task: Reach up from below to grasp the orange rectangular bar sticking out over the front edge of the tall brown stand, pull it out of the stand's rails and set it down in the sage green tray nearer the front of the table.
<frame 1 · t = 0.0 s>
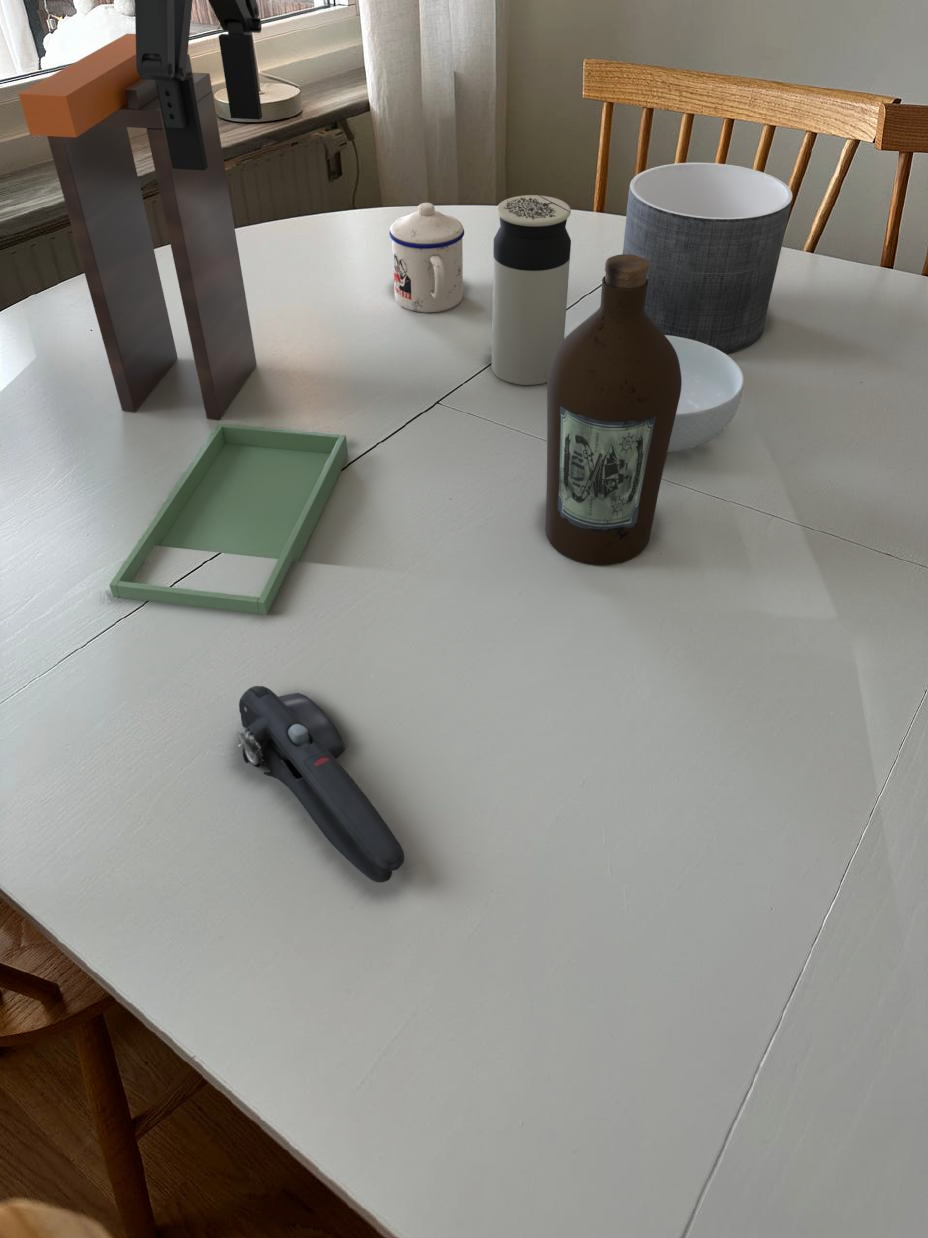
hand: (220, 141, 83), 28 cm above the table, tool pointing down, fingers open, 13 cm apart
cereal bowl: (647, 434, 101), on the table
orange rectangular bar: (108, 100, 85), point 30 cm above the table, touching tall brown stand
can opener: (325, 805, 67), on the table
tall brown stand: (191, 387, 108), on the table
tray: (243, 524, 90), on the table
planter: (688, 323, 119), on the table
olive oil: (596, 535, 88), on the table
travel mug: (526, 371, 111), on the table
teacup with lid: (431, 304, 123), on the table
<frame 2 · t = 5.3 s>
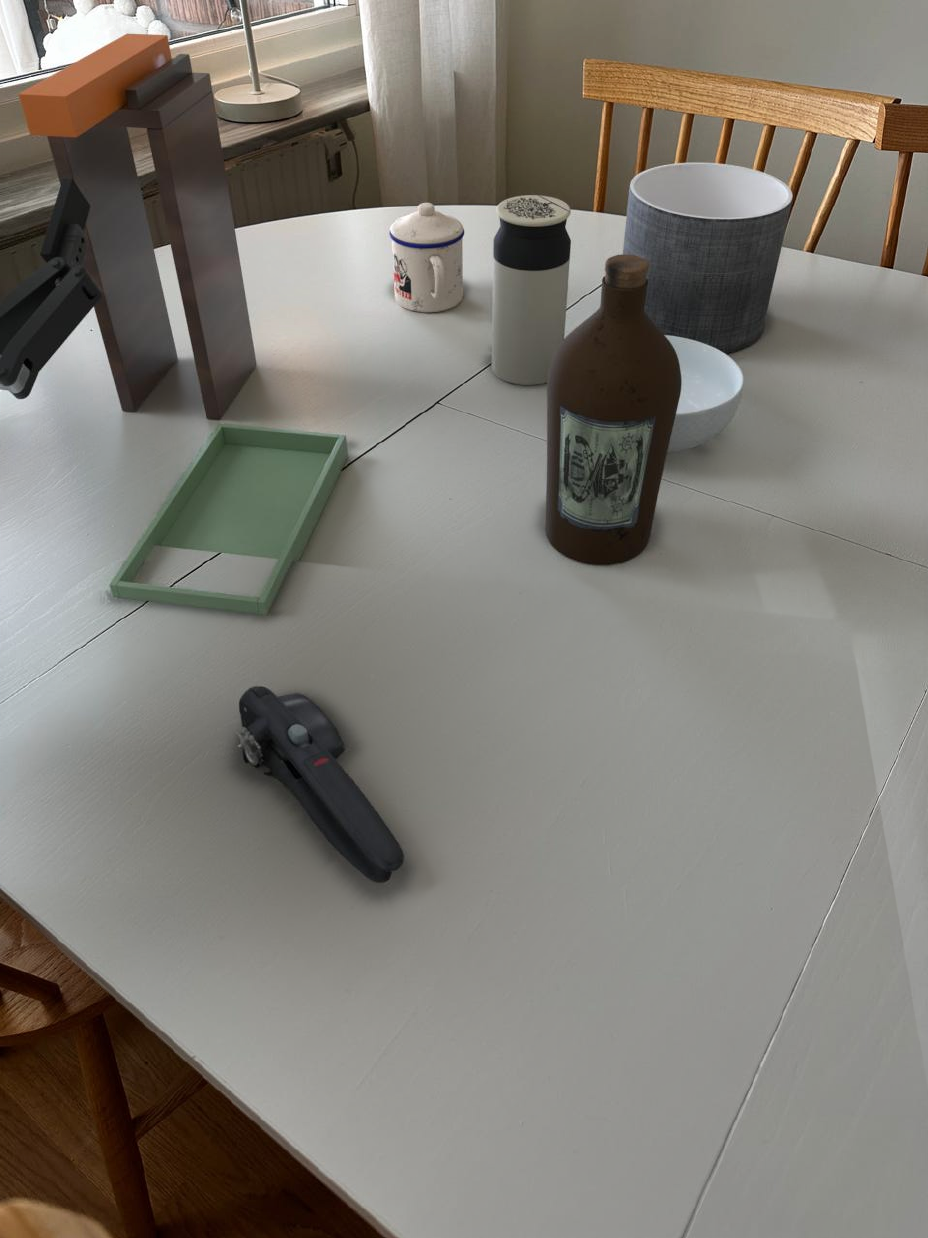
nothing on the table moved.
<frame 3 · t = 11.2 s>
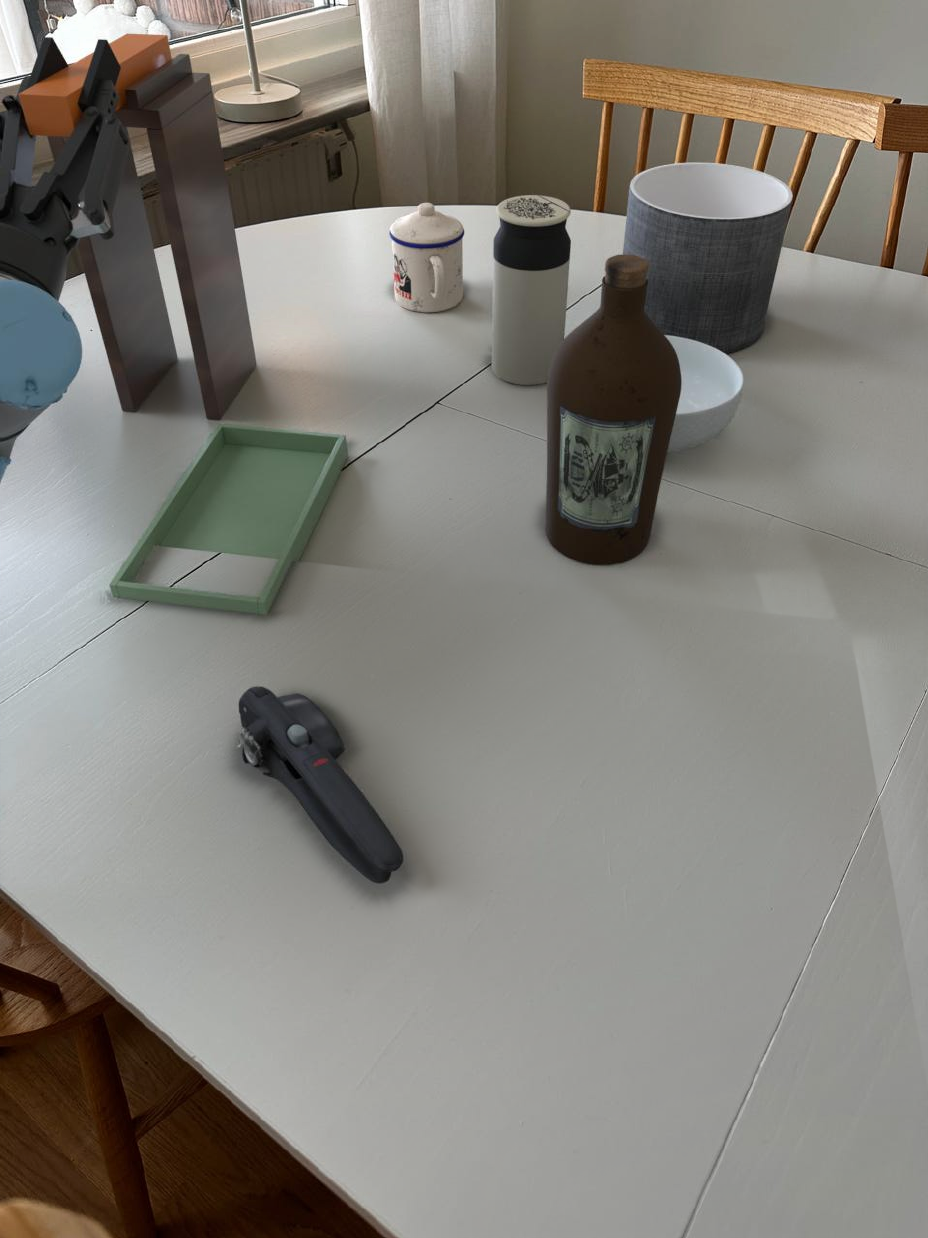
hand: (82, 52, 80), 34 cm above the table, tool pointing upward, fingers closed on orange rectangular bar, 4 cm apart
orange rectangular bar: (108, 100, 85), point 30 cm above the table, touching gripper, tall brown stand
everything else where it was.
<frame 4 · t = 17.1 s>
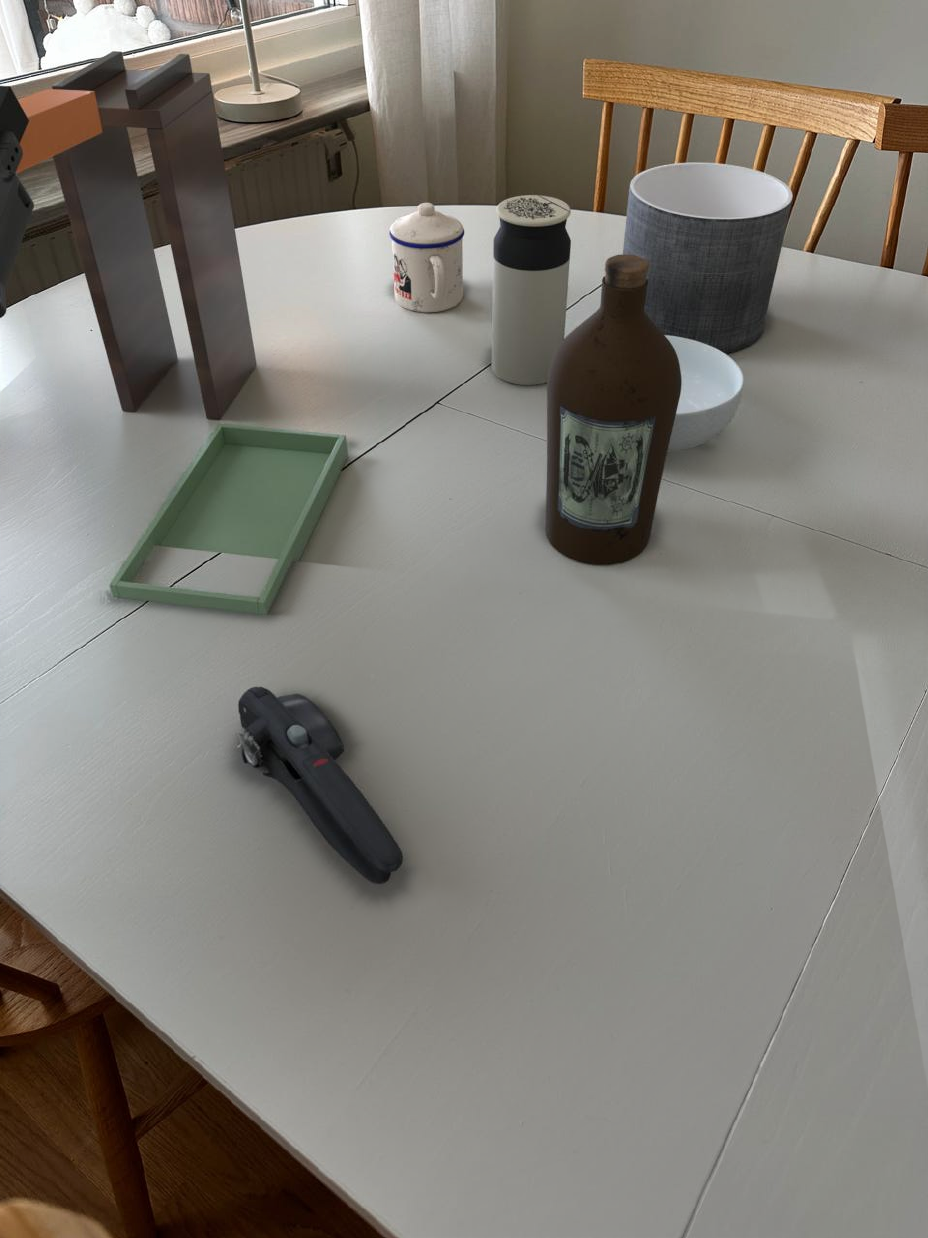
orange rectangular bar: (16, 160, 71), point 31 cm above the table, tilted 5°, touching gripper
everything else where it was.
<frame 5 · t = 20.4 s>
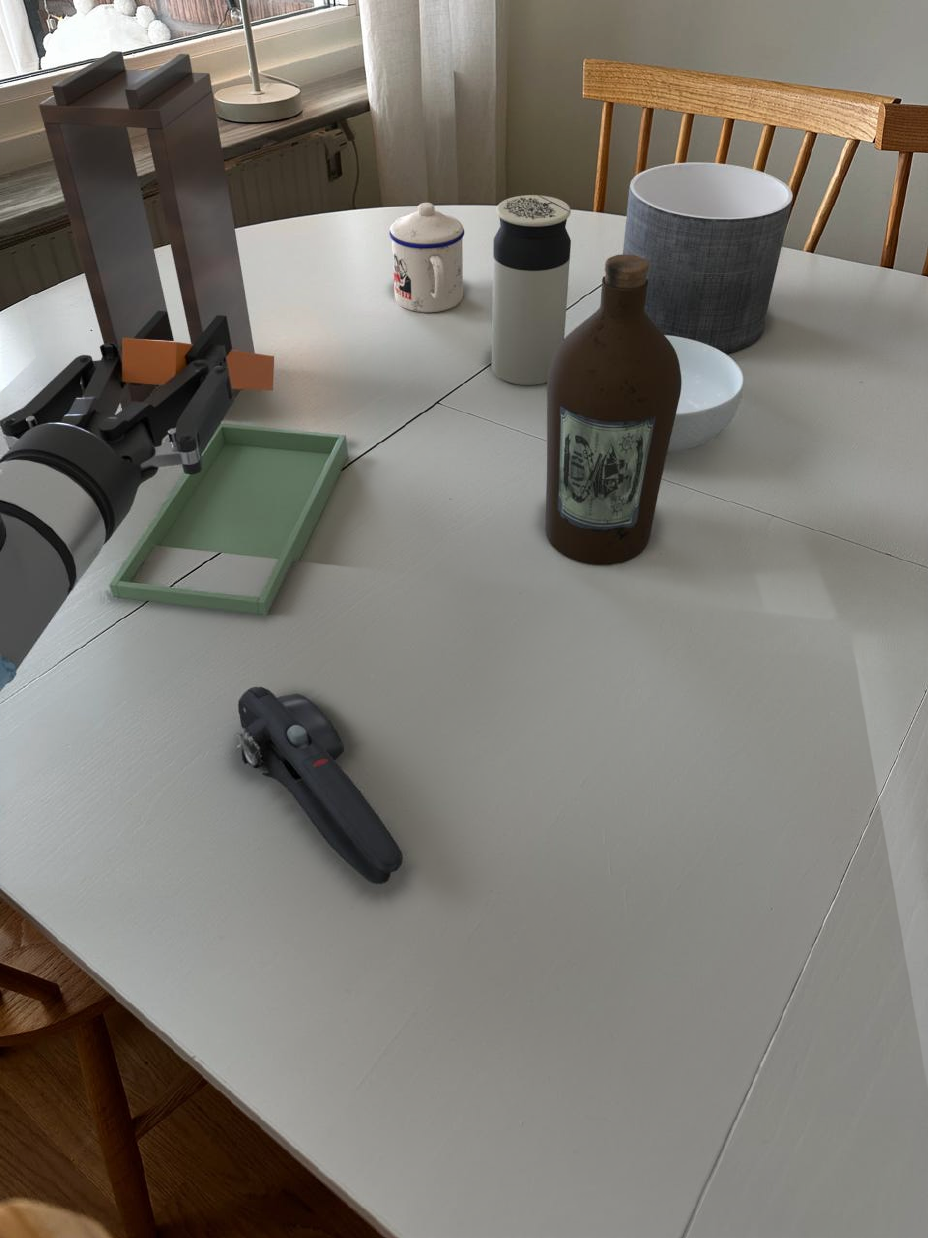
hand: (195, 330, 75), 20 cm above the table, tool horizontal, fingers closed on orange rectangular bar, 4 cm apart
orange rectangular bar: (206, 386, 78), point 15 cm above the table, tilted 30°, touching gripper
everything else where it was.
when the fingers open (9 cm above the table, at t = 23.4 s): orange rectangular bar drops 3 cm, resting on tray.
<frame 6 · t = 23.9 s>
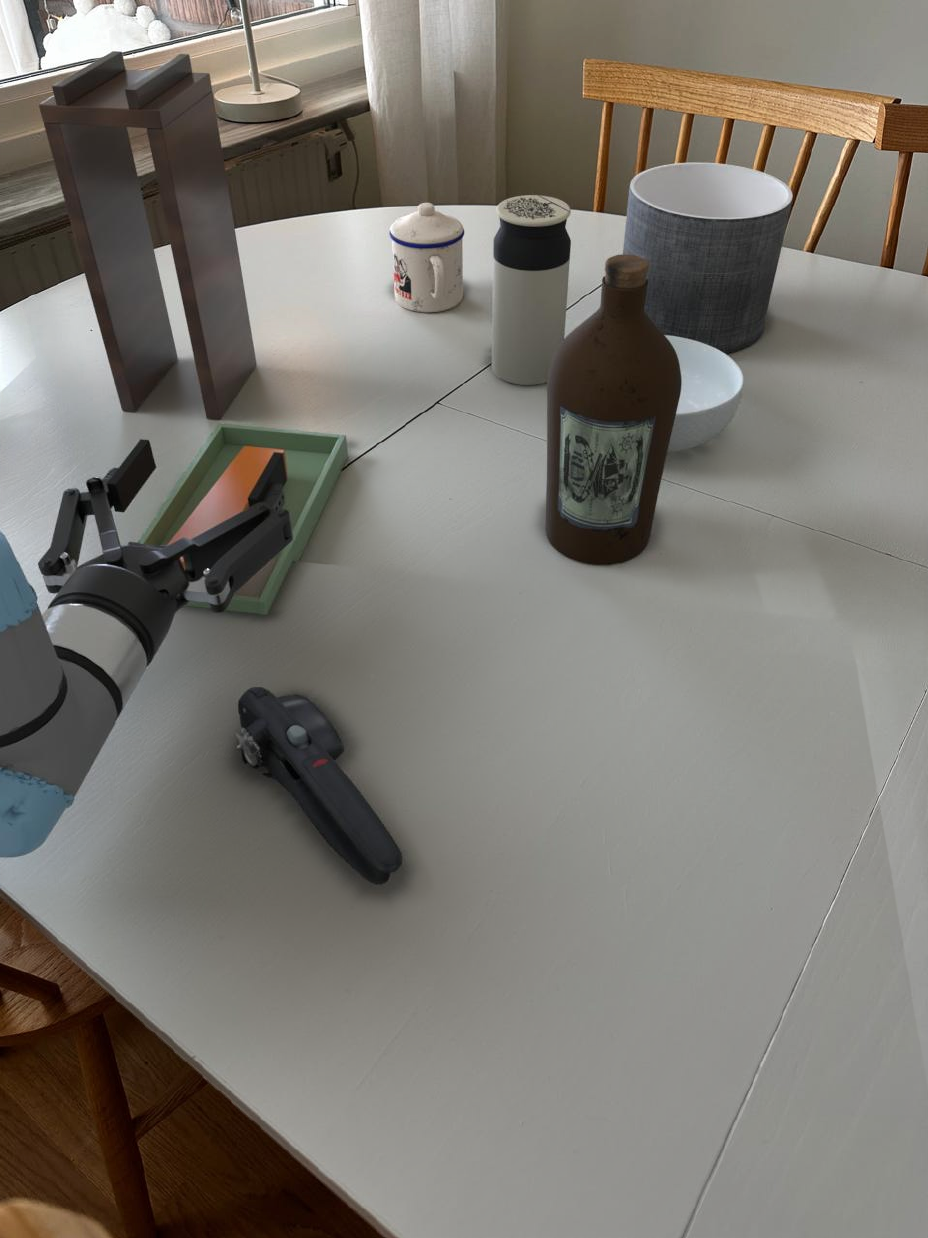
hand: (214, 459, 81), 9 cm above the table, tool horizontal, fingers open, 11 cm apart
orange rectangular bar: (230, 528, 87), point 2 cm above the table, tilted 6°, touching tray
everything else where it was.
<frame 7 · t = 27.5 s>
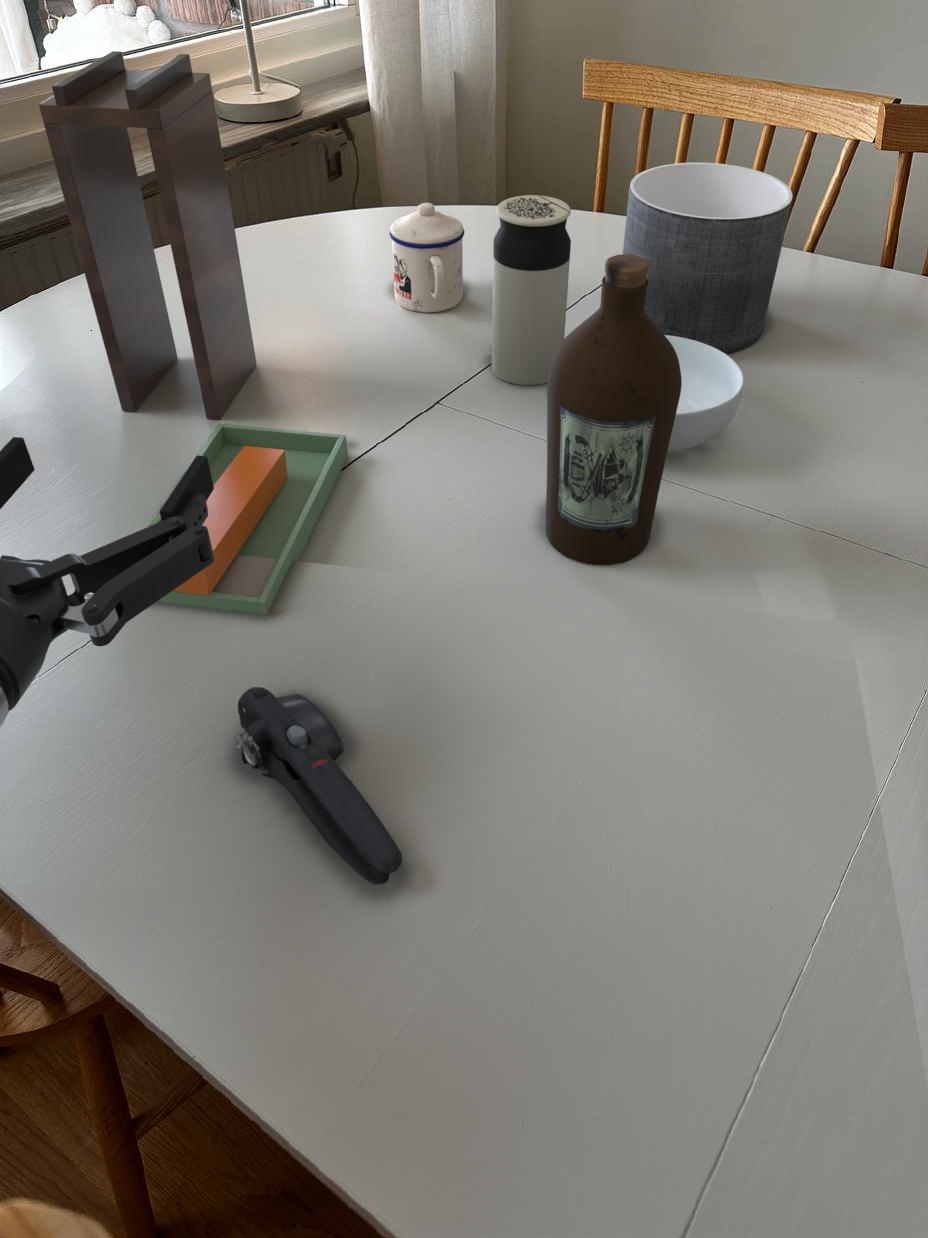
hand: (114, 462, 69), 16 cm above the table, tool horizontal, fingers open, 13 cm apart
nothing on the table moved.
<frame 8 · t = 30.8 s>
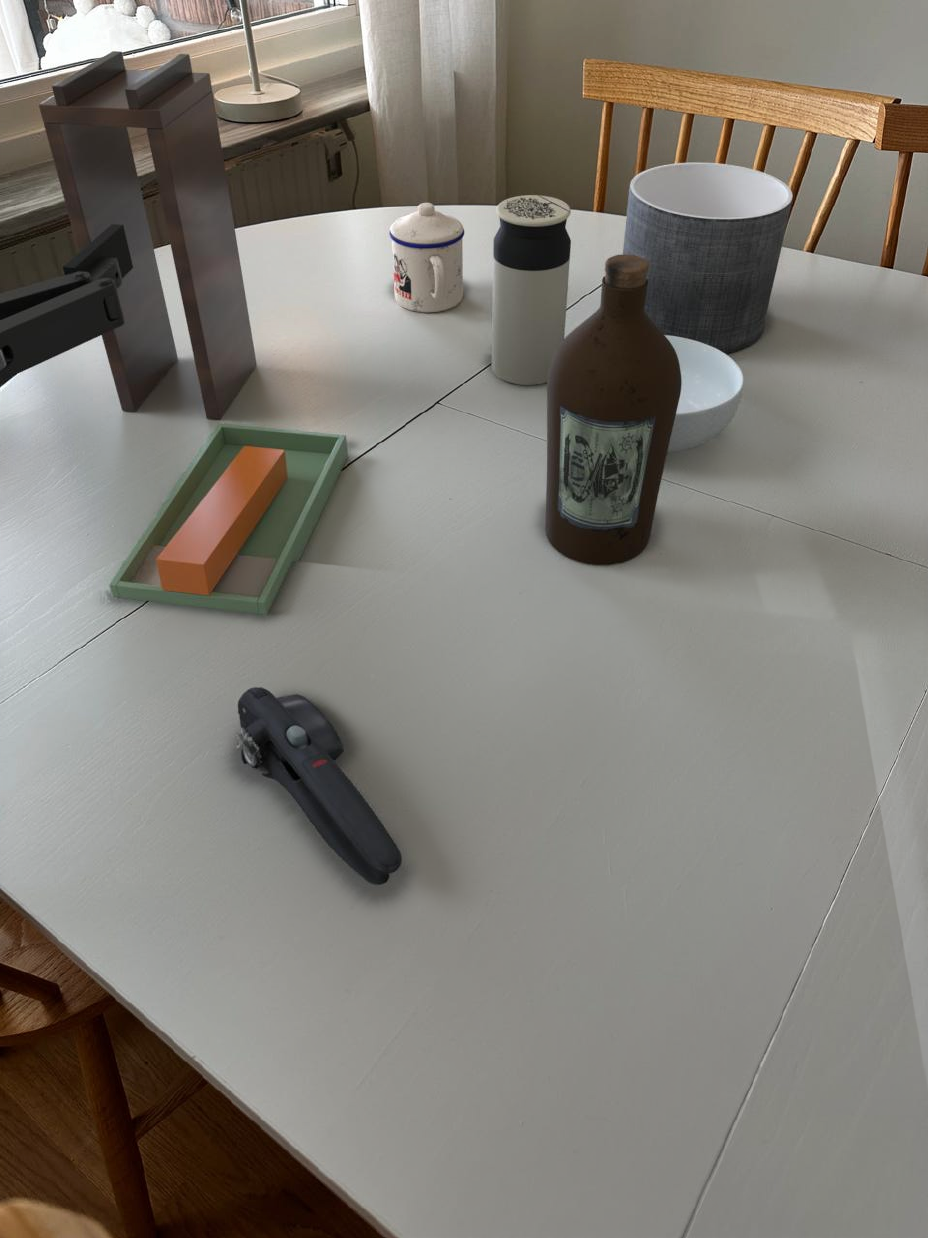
hand: (22, 238, 62), 30 cm above the table, tool horizontal, fingers open, 13 cm apart
nothing on the table moved.
at the end: orange rectangular bar inside the target area in the tray (2.7 cm from its centre), point 1.5 cm above the tray's base; orange rectangular bar touching tray; the gripper is holding nothing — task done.
